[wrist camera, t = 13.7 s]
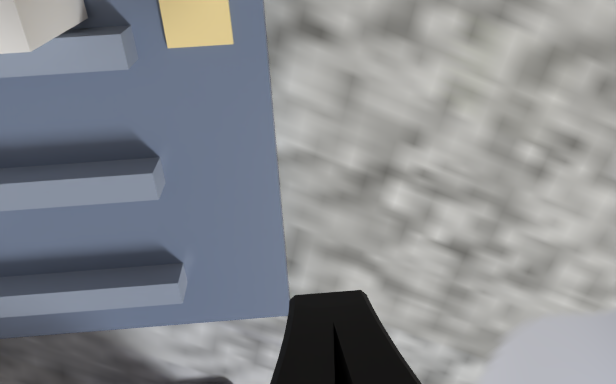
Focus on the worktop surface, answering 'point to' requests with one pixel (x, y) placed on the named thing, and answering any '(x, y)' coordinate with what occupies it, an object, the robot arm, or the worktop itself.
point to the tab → (36, 22)
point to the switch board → (141, 172)
